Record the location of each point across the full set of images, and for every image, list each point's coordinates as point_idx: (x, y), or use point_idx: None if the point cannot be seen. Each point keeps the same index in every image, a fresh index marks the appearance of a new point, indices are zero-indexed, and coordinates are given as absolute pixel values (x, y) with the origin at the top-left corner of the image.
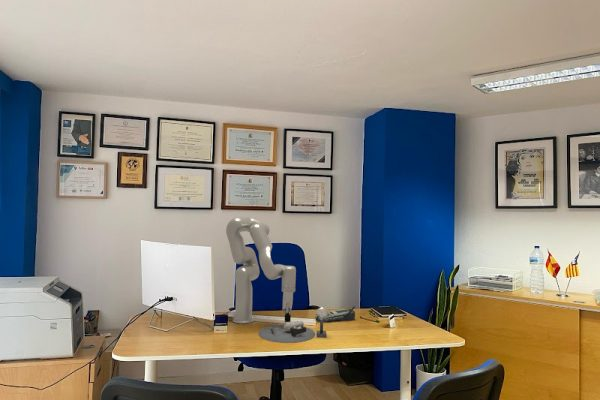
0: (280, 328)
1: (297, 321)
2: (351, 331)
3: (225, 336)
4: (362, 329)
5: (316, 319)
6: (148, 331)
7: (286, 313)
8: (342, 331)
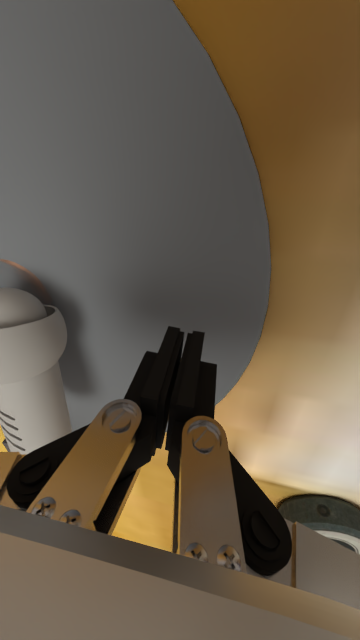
0: (126, 251)
1: (17, 436)
2: (134, 518)
3: None
4: (161, 540)
5: (315, 508)
6: None
7: (60, 443)
8: (130, 504)
